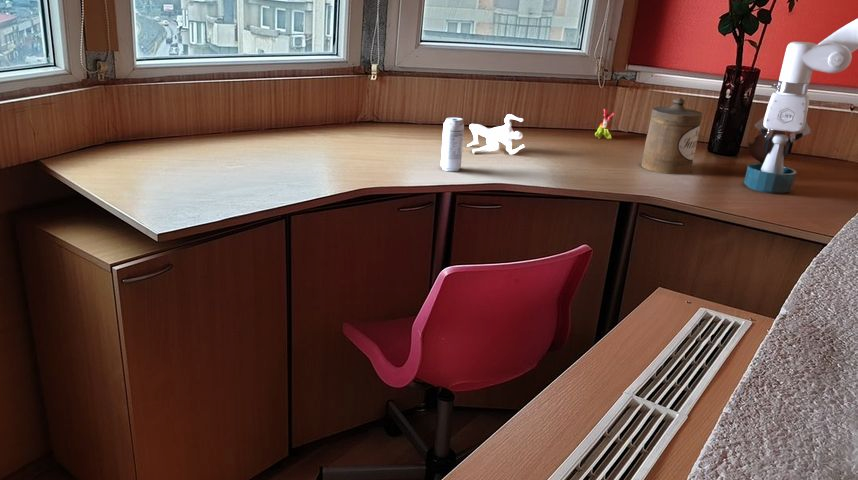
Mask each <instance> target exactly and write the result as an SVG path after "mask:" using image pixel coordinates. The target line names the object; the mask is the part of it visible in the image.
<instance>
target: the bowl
mask: <svg viewBox="0 0 858 480" xmlns="http://www.w3.org/2000/svg"><path fill="white" fill-rule="evenodd" d="M762 165H763V163H760V162H758V163H757V162H755V163H749V164H748V165H747V168H746V173H745V177H744V181H743V184H744V185H745V186H746V187H747V188H749V189H750V190H754V191H757V192H760V193H767V194H774V195H781V194H788V193H789V192H792V191H793V188H794V186H795V185H794V184H795V180H796V177H797V170H795V169H793V168H790V167H787V166H784V165H783V174H778V173H769V172H764V171H761V168H762Z"/></svg>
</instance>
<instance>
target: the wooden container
mask: <svg viewBox="0 0 858 480" xmlns="http://www.w3.org/2000/svg"><path fill="white" fill-rule="evenodd" d="M685 101H686V100H685V99H684V98H682V97H676V98H674V99H673V100H672V103H673V104H672V105H671V106H655V107H653V108H652V110H651V113H650V115H651V116H650V120H649V125H648V130H647V133H646V139H645V142H644V148H643V149H644V150H643V154H642V159H641V164H640V165H641V167H642V168H644V169H645V170H647V171H652V172H656V173H659V174H667V175H668V174H669V175H687V174H690V173H691V171H692V167H693V162H694V158H695V155H696V154H695V153H696V149H697V144H698V139H699V132H700V127H701V123H702V119H703V112H702V111H699V110H695V109H690V108H686V107H685V105H684V104H685Z"/></svg>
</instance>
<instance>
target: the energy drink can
mask: <svg viewBox="0 0 858 480" xmlns="http://www.w3.org/2000/svg"><path fill="white" fill-rule="evenodd" d="M464 132H465V124H464V119H463V118H461V117H455V116H454V117H453V116H451V117H449V116H448V117H446V118H445V121H444V122H443V128H442V143H441V156H440V167H441V169H442V170H443V171H445V172H458V171H460V168H461V167H462V157H463V147H464V146H463V145H464V144H463V143H464Z"/></svg>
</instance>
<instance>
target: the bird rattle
mask: <svg viewBox="0 0 858 480" xmlns="http://www.w3.org/2000/svg"><path fill="white" fill-rule="evenodd" d="M609 111H610V110H609V109H606V108H603V117H604V118H603V121H602V122H601V123H600V124H599V126H598V128H597V131H596V132H595V133H594V136H595V137H597V139H598V140H600V139H601V138H602V137H604V138H605V139H606V140H611V139H613V136H612V134H611V132H610V131H609V129H610V124H609V122H610V121H611V118H612V117H614V116H615V115H616V113H614V112H612V113H609Z"/></svg>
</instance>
